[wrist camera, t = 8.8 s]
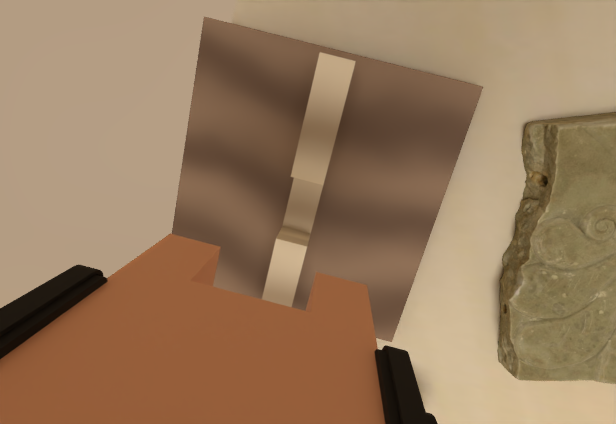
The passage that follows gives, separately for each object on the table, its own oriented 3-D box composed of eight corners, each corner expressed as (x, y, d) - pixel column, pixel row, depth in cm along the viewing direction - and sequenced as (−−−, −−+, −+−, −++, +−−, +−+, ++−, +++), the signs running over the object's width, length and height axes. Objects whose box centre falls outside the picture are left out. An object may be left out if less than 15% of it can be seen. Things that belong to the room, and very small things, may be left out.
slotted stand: (210, 20, 26) (170, -7, 20) (476, 88, 25) (518, 80, 19) (171, 274, 31) (131, 313, 25) (389, 333, 31) (401, 386, 25)
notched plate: (170, 233, 13) (-346, 598, 3) (366, 285, 13) (457, 824, 3) (160, 296, 13) (-288, 757, 4) (347, 346, 13) (370, 948, 4)
